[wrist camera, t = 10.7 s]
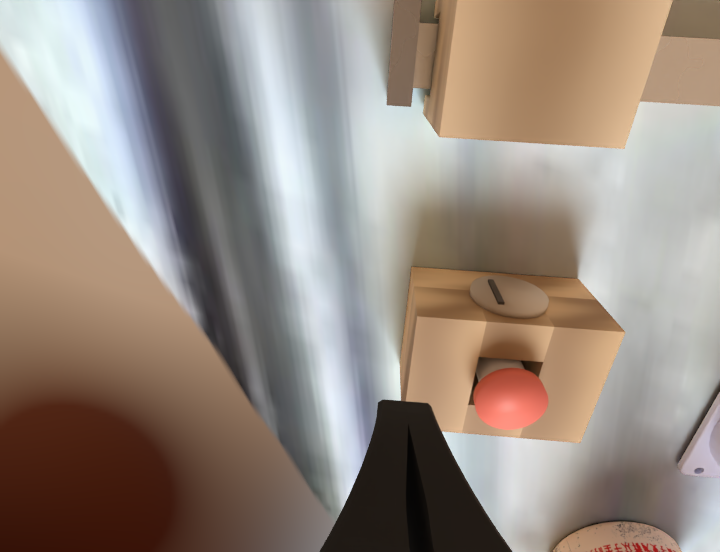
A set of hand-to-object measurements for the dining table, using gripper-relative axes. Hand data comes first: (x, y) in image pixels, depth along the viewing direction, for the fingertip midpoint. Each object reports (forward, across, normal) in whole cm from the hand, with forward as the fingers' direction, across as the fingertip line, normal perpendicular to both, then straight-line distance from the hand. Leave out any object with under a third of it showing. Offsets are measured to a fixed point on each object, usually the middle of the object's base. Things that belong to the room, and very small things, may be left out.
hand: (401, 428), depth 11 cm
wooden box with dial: (+10, -5, +3) cm, 12 cm away
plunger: (+8, -5, +3) cm, 10 cm away
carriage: (+10, -3, -9) cm, 14 cm away
